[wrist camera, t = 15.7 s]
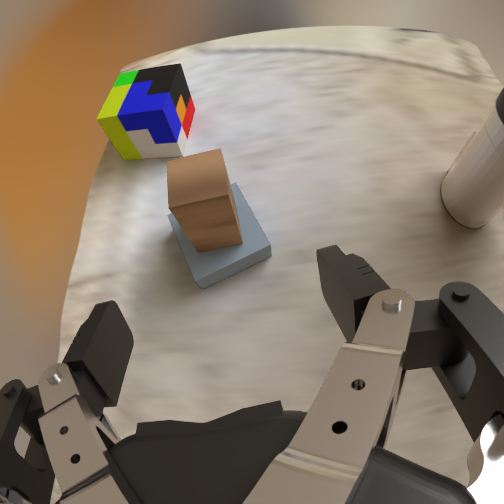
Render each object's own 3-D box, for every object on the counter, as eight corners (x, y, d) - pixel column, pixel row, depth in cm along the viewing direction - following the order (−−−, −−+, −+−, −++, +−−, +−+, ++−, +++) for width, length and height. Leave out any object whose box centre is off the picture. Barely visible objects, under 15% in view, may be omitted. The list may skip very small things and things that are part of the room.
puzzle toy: (183, 156, 44) (162, 109, 34) (124, 160, 45) (96, 119, 35) (195, 109, 47) (180, 63, 38) (140, 115, 48) (120, 73, 39)
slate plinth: (177, 229, 40) (167, 215, 36) (239, 198, 41) (235, 182, 37) (203, 290, 37) (194, 281, 33) (271, 256, 38) (270, 244, 34)
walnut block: (193, 213, 36) (166, 161, 27) (235, 204, 36) (220, 148, 27) (198, 252, 34) (168, 207, 25) (243, 243, 34) (228, 194, 25)
